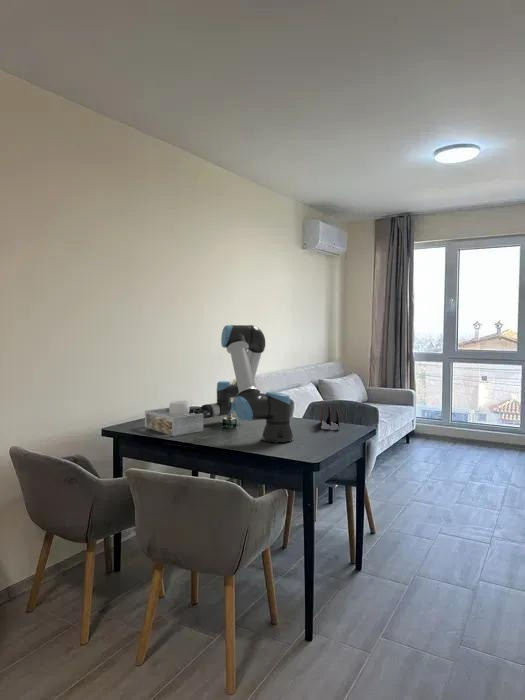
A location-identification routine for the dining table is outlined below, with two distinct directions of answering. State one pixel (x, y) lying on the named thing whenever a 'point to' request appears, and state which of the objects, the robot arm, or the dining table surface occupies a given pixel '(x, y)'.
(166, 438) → the dining table surface
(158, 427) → the offcut bundle
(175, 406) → the cup
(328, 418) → the letter holder
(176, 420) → the grey open storage bin
